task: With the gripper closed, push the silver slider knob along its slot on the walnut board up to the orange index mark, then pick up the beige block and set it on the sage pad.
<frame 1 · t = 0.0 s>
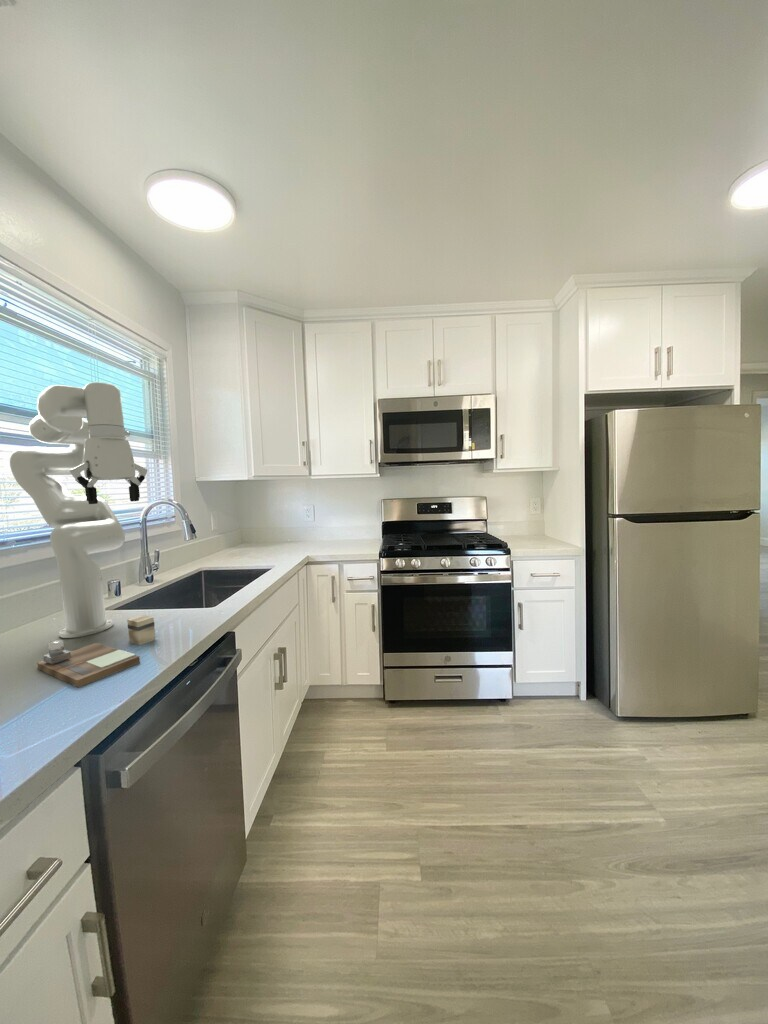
hand: (114, 502, 101), 37 cm above the worktop, fingers open, 9 cm apart
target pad: (112, 665, 90), resting on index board
beige block: (142, 640, 104), on the worktop
silver slider knob: (56, 650, 90), point 4 cm above the worktop, slide at 0.0 cm
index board: (88, 665, 90), on the worktop
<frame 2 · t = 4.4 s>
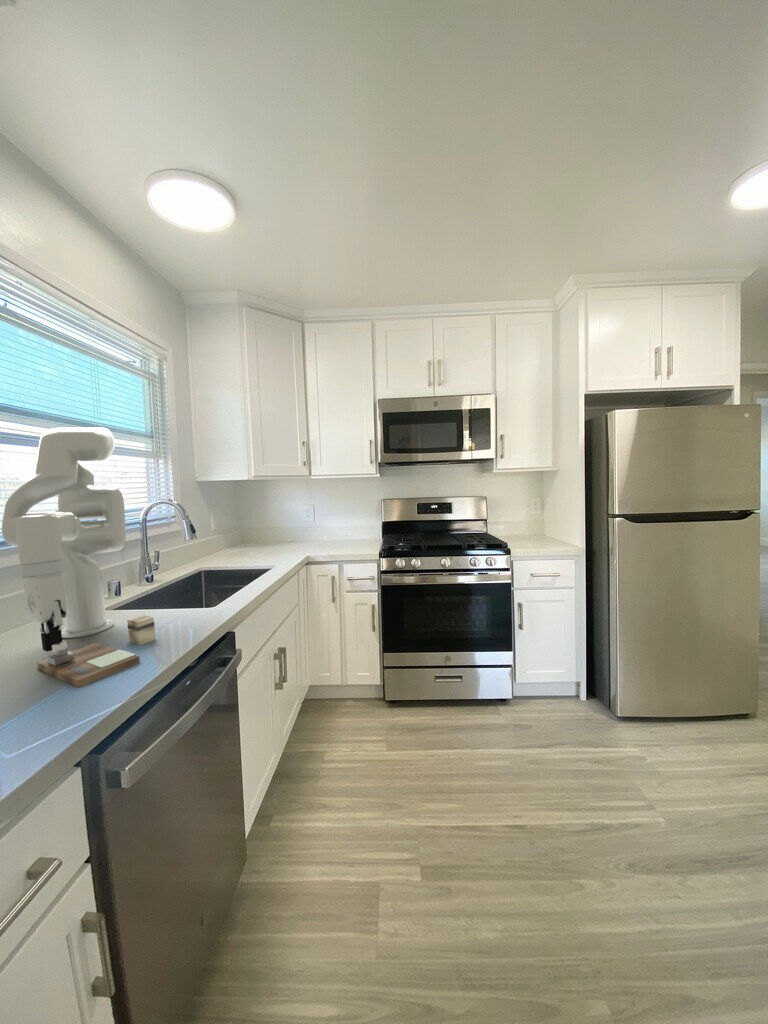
hand: (53, 648, 91), 4 cm above the worktop, fingers closed
silver slider knob: (60, 652, 89), point 4 cm above the worktop, slide at 1.9 cm, touching gripper
everything else where it was.
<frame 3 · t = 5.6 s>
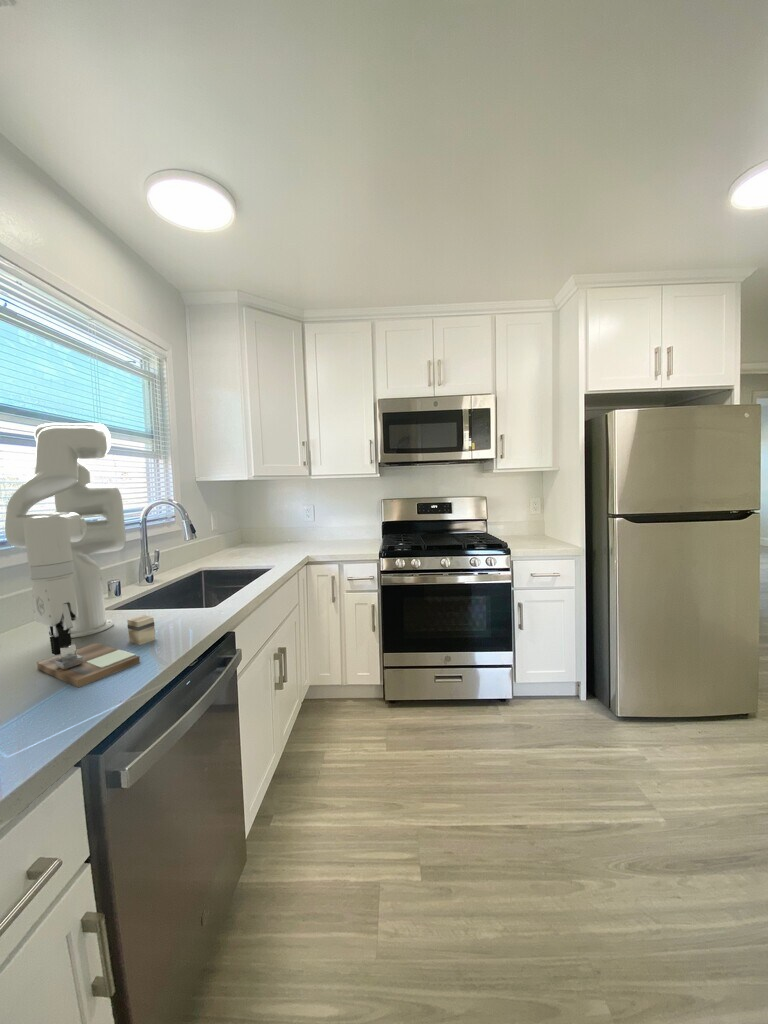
hand: (62, 652, 89), 4 cm above the worktop, fingers closed
silver slider knob: (68, 655, 87), point 4 cm above the worktop, slide at 6.2 cm
everything else where it was.
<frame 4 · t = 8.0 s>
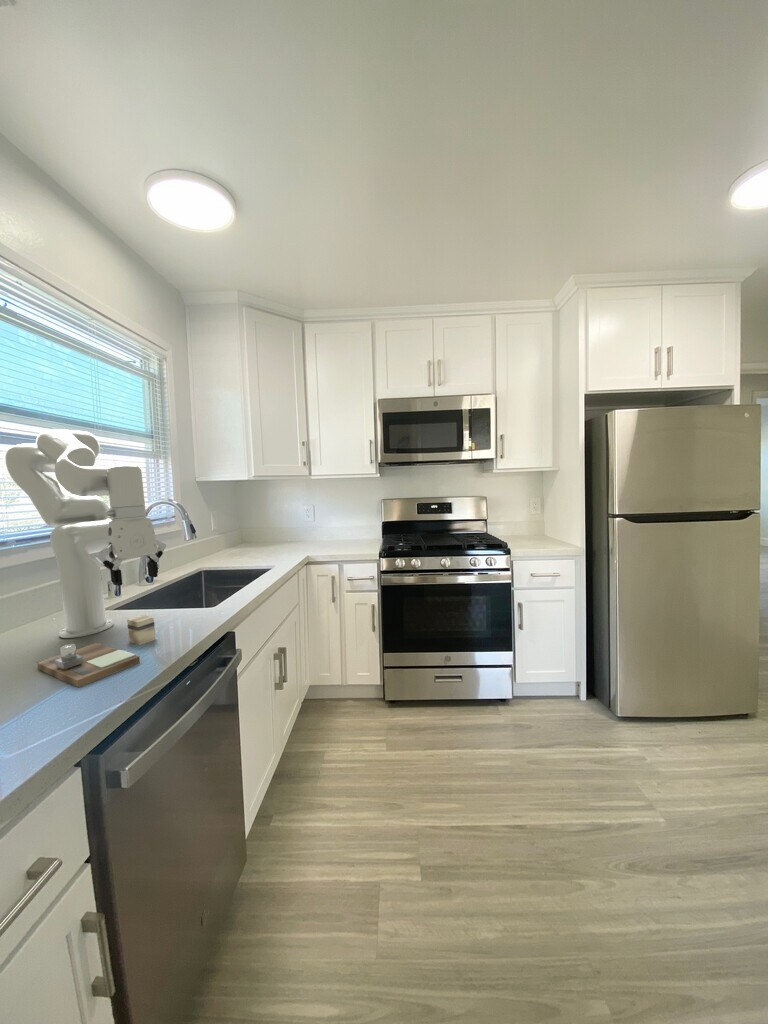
hand: (136, 580, 103), 16 cm above the worktop, fingers open, 8 cm apart
nothing on the worktop moved.
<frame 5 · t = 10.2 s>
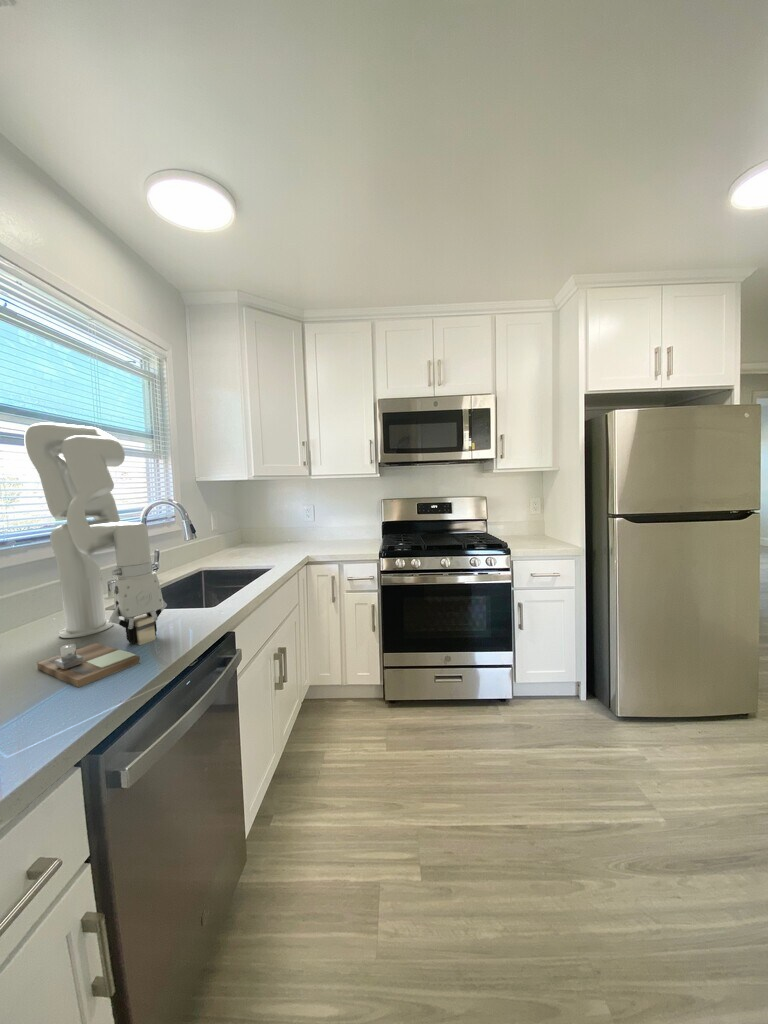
hand: (142, 638, 104), 1 cm above the worktop, fingers closed on beige block, 4 cm apart
beige block: (142, 640, 104), on the worktop, touching gripper
everything else where it was.
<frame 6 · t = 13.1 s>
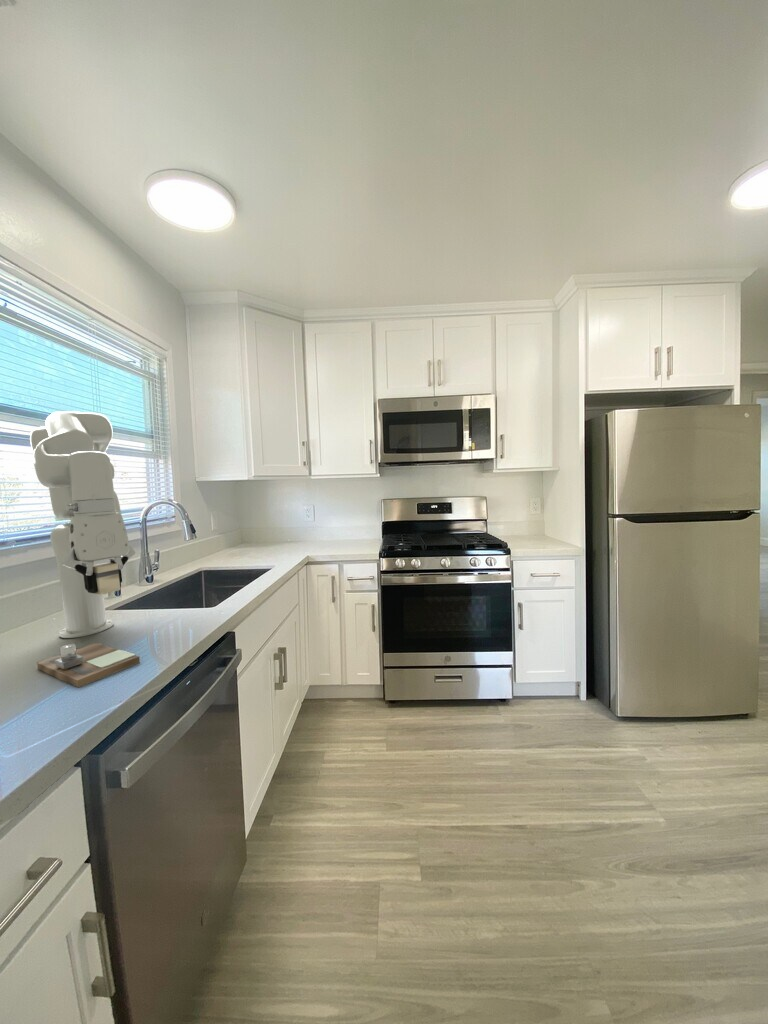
hand: (104, 588, 89), 17 cm above the worktop, fingers closed on beige block, 4 cm apart
beige block: (105, 591, 89), point 17 cm above the worktop, touching gripper
everything else where it was.
when the fingers open (4 cm above the worktop, at t = 16.1 s): beige block drops 1 cm, resting on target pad.
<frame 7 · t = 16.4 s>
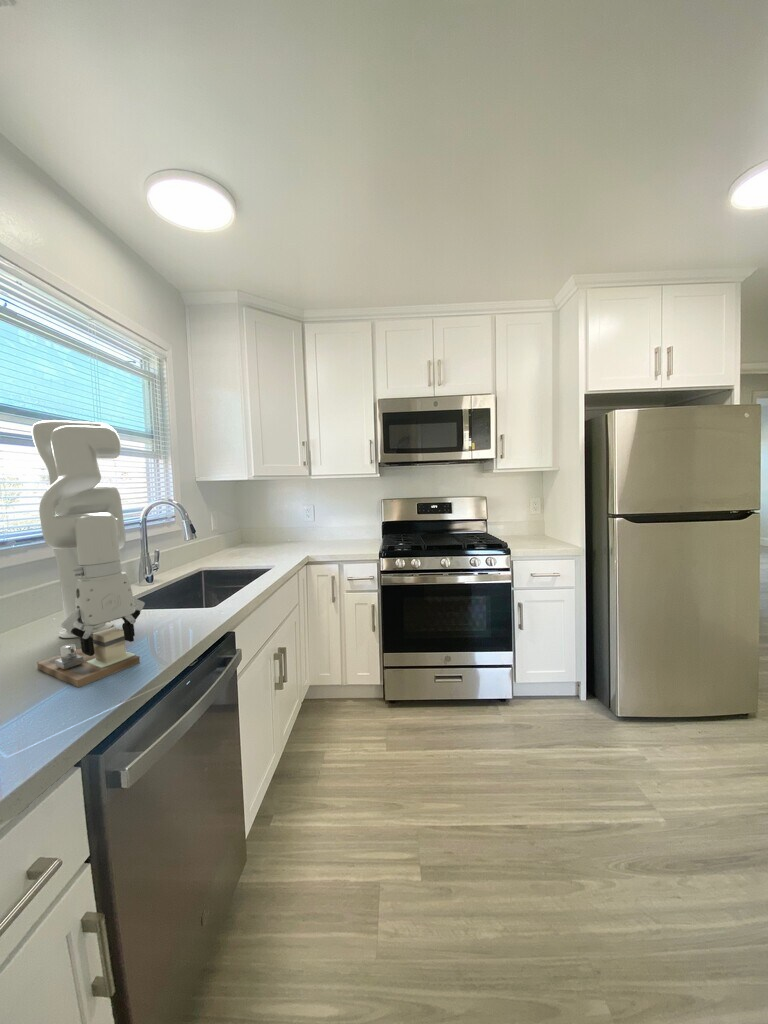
hand: (109, 646, 90), 4 cm above the worktop, fingers open, 7 cm apart
beige block: (111, 657, 90), point 2 cm above the worktop, touching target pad
everything else where it was.
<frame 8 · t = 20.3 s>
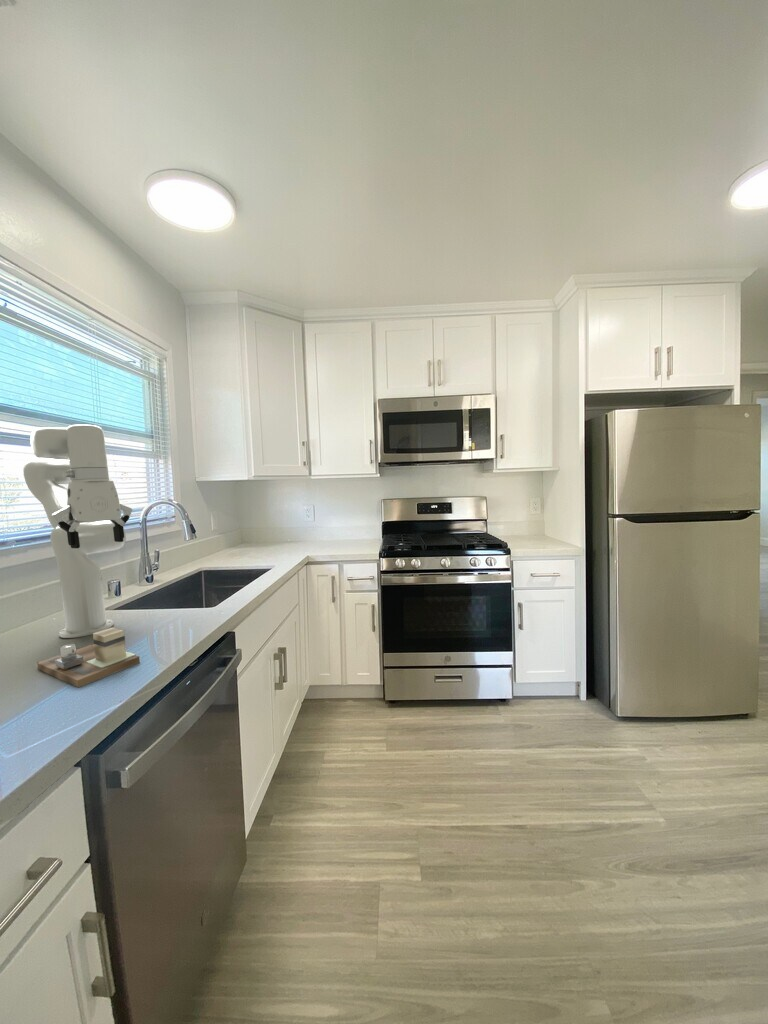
hand: (98, 544, 99), 26 cm above the worktop, fingers open, 9 cm apart
nothing on the worktop moved.
at the end: silver slider knob slide at 6.2 cm; beige block 0.1 cm off-centre on the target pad, point 1.7 cm above the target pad's base; beige block tilted 0° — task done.
